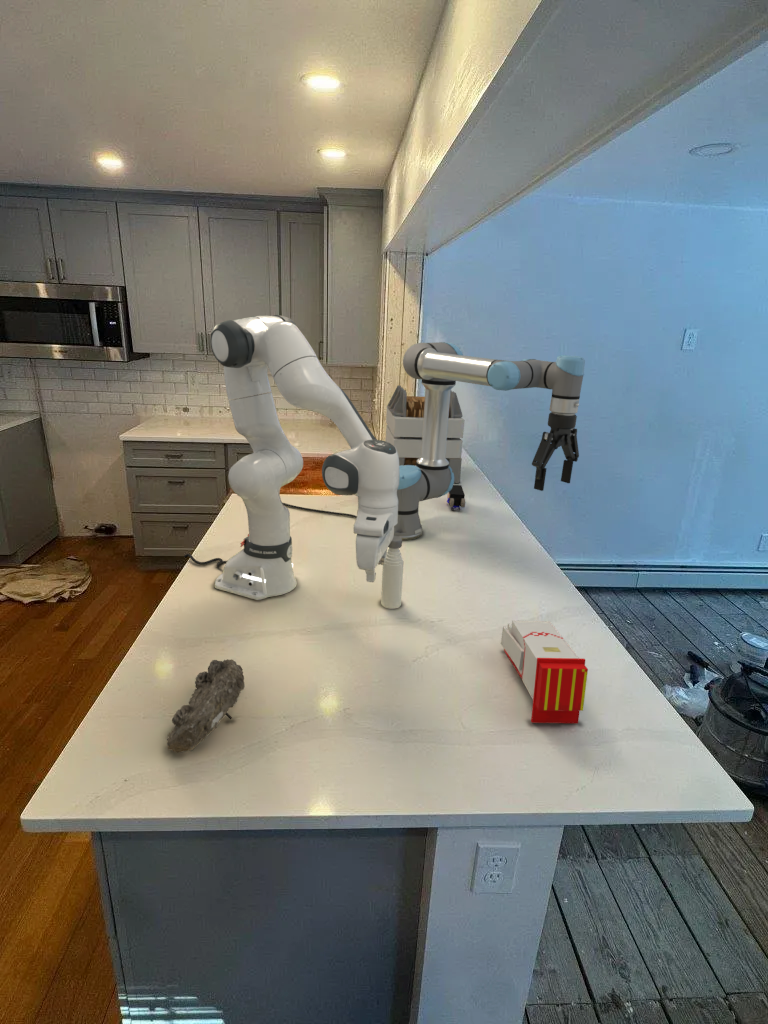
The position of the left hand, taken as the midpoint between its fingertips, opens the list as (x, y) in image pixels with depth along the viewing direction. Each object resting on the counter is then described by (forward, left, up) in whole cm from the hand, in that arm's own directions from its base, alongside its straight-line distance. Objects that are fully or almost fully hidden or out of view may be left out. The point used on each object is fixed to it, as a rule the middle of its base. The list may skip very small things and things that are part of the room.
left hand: (376, 571), depth 129 cm
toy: (+37, -5, -18) cm, 42 cm away
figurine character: (+7, +105, -18) cm, 107 cm away
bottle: (0, +19, -18) cm, 26 cm away
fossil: (-23, -35, -18) cm, 45 cm away
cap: (0, +19, 0) cm, 19 cm away
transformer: (-16, +149, -18) cm, 151 cm away
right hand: (+39, +52, +10) cm, 66 cm away
